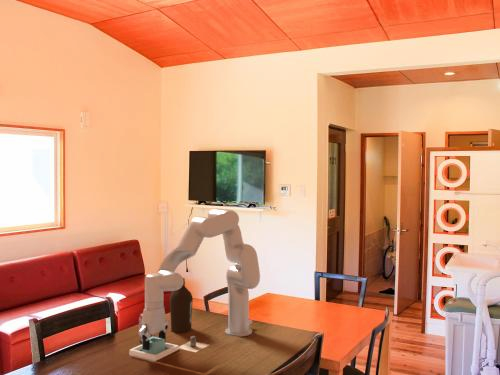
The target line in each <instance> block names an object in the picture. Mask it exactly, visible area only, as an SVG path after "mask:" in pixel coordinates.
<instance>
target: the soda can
mask: <svg viewBox="0 0 500 375" xmlns="http://www.w3.org/2000/svg"><path fill="white" fill-rule="evenodd" d="M139 315H140V316H139V318H138V331H139V330H140V329H141V328H142V316H143V312H142V313H140V314H139ZM146 337H147V334H146ZM150 337H156V333H154V334H152V335H150ZM138 340H139V341H140V342H141V343H142V341H143V340H142V339H141V338H140V335H139V334H138Z"/></svg>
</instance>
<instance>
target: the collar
mask: <svg viewBox="0 0 500 375" xmlns="http://www.w3.org/2000/svg"><path fill="white" fill-rule="evenodd" d="M149 340H150V350H144V349H143V341H142V342H141V345H142V350H141V351H142V352H146V353H150V354H154V355H157V354H159V353H161V352H163V351H165V350H166V348H165V339H163V338H159V336H158V337H157V336H155V337H150V338H149Z"/></svg>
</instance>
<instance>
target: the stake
mask: <svg viewBox="0 0 500 375" xmlns="http://www.w3.org/2000/svg"><path fill="white" fill-rule="evenodd" d="M209 346H210V344H206V343H202V342H197V336H195V335H192V336H190V340H189V341H188V342H185V343H184V344H182V345H180V346H179V350H185V351H187V352H193V353H197V352H199V351H201V350H203V349H204V348H207V347H209Z"/></svg>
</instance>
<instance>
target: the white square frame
mask: <svg viewBox="0 0 500 375" xmlns="http://www.w3.org/2000/svg"><path fill="white" fill-rule="evenodd" d="M178 350H180V349H179V345H178V344H175V343H174V344H173V343H169V342H165V351H163V352H161V353H159V354H157V355H154V354H150V353H146V352H142V344H140V345H137V346H135V347H132V348H130V349H129V352H128V354H129V357H131V358H132V357H133V358H136V359H140V360H145V361H148V362H152V363H158V362H159V360H160V359H163V358H164V357H166V356H168V355H171V354H173V353H174V352H177V351H178Z"/></svg>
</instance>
